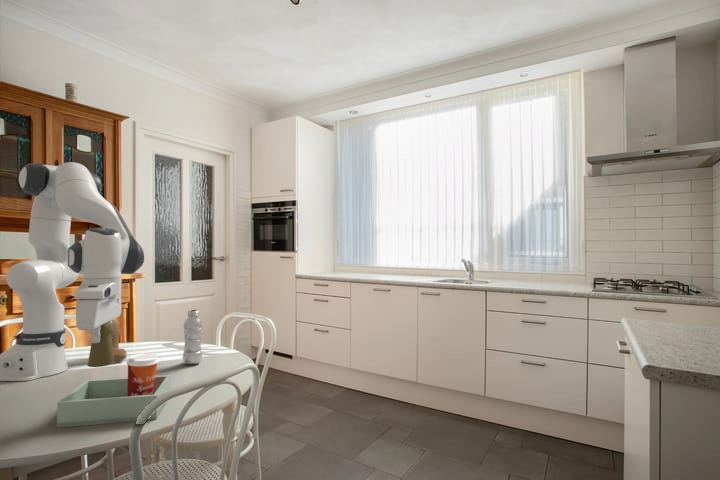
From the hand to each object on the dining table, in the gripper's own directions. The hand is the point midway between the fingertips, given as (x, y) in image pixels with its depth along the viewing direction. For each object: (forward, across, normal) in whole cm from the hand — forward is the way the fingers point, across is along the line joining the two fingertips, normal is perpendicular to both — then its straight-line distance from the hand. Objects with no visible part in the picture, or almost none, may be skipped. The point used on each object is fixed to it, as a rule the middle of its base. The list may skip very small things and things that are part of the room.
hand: (100, 339), depth 103 cm
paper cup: (+19, 0, +10) cm, 22 cm away
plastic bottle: (+19, -39, +17) cm, 47 cm away
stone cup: (+19, -51, -15) cm, 56 cm away
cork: (+7, 0, 0) cm, 7 cm away
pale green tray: (+19, 0, +5) cm, 20 cm away
